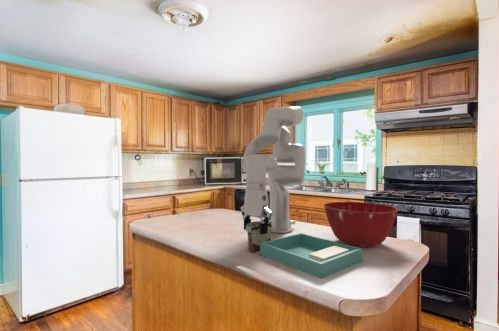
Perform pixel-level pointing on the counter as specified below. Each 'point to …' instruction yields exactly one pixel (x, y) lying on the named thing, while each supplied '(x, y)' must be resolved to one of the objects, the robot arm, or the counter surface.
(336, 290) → the counter surface
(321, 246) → the tray
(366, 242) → the mixing bowl
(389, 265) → the counter surface
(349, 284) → the counter surface
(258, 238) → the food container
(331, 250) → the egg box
